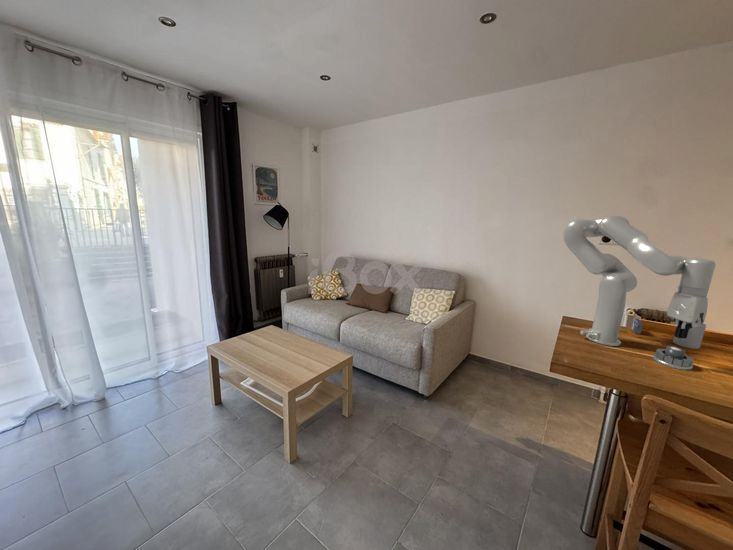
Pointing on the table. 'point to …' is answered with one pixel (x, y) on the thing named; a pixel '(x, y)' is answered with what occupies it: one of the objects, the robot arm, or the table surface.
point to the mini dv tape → (636, 326)
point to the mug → (692, 338)
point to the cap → (675, 352)
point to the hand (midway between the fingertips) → (680, 337)
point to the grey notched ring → (673, 360)
